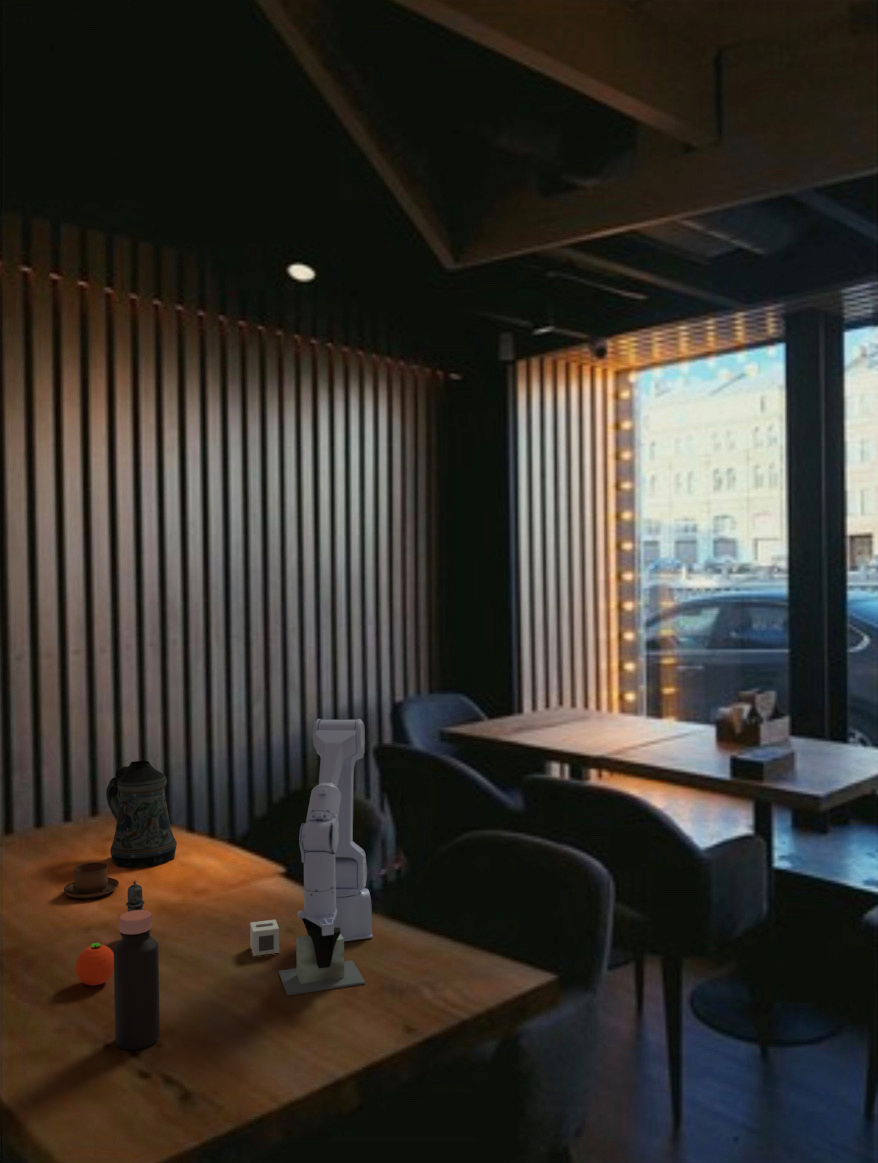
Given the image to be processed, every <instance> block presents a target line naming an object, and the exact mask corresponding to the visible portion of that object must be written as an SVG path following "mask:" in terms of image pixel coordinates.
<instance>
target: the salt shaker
mask: <svg viewBox="0 0 878 1163" xmlns="http://www.w3.org/2000/svg"><path fill="white" fill-rule="evenodd" d="M144 904H145V900H143V887H142V885H139V884H137V881H136V880H133V882H132V884H131V885H130V886H129V887H128V888H127V902H126V903H125V906H126V907H127V912H129V911H134V910H144Z"/></svg>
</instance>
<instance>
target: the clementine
mask: <svg viewBox="0 0 878 1163" xmlns="http://www.w3.org/2000/svg"><path fill="white" fill-rule="evenodd" d="M75 974H76V976H77V977H78V980H80V981H81V982H82V984H85V985H86V986H87V985H88V986H92V987H93V986H94V987H95V986H99V985H102V984H104V983H106V982H107V981H108V980H110V979H111V977H112V976H113V975H114V950H112V949H111V948H110V947H109V946H107V945H105V944H101V943H100V942H95V943H93V942H92V943H91V945H90V946H87V947H85V949H83V950H82V951H81V953H80V954H79V955H78V957H77V959H76V962H75Z"/></svg>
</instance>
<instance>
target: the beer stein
mask: <svg viewBox="0 0 878 1163" xmlns="http://www.w3.org/2000/svg"><path fill="white" fill-rule="evenodd" d="M167 780H168V779H167V777H166V776H165V774H164V773H162V772H160V771H159V770H157V769H156V768H154V767H153V766H152V765H151V763H150V761H148V760H136V761H135V760H134V761H131V762H130V763H129V765H127V766H121V767H120V768H118V769H117V770H116V771H115V776H114V777H113V778H111V779H110V780H109V781H108V785H107V786H106V787H107V788H106V791H105V796H106V802H107V806H108V807H109V809H110V812H111V814H112V816H113V817H114V819H115V820H116V825H115V831H114V837H113V840H112V843H111V846H110V856H111V860H112V865H114V866H116V867H119V868H127V869H143V868H151V867H156V866H161V865H164V864H167V863H169V862H171V861H173V860H175V856H176V850H177V845H178V843H177V840H176V838H175V836H174V834H173V830H172V826H171V823H170V816H169V811H168V806H167V805H168V804H167V801H166V800H167V799H166V794H165V793H166V792H165V787H166V785H167V782H168V781H167Z"/></svg>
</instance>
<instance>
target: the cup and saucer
mask: <svg viewBox="0 0 878 1163" xmlns="http://www.w3.org/2000/svg"><path fill="white" fill-rule="evenodd" d="M73 871H74V872H73V873H74V875H73V876H74V880H73V881H72V882H69V883H68V884H66V885H65V886H64V888H63V891H64V894H66V895H67V896H69V897H71V898H74V899H94V898H98V897H103V896H105V895H108V894H110V893H112V892H114V891H115V890H116V889H117V888H118V886H119V883H120V882H119V880H118V879H115V878H113V877H109V873H108V872H109V865H108V864H107V863H105V862H88V863H83V864H80V865H78V866H76V867H75V868H74V869H73Z"/></svg>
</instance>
